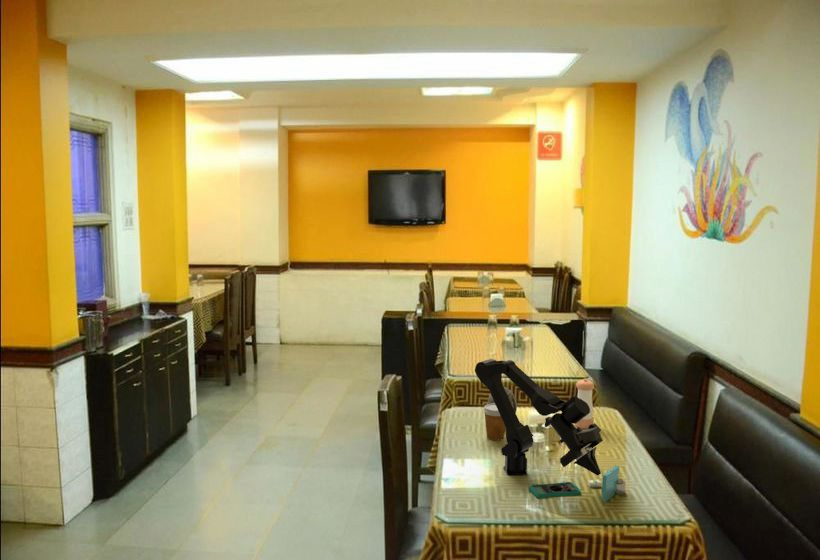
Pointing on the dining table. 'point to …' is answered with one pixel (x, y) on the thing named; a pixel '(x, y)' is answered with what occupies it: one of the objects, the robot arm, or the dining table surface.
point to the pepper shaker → (586, 395)
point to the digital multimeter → (554, 490)
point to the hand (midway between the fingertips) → (599, 474)
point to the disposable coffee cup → (493, 422)
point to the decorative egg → (510, 396)
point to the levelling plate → (594, 483)
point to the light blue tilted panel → (612, 484)
